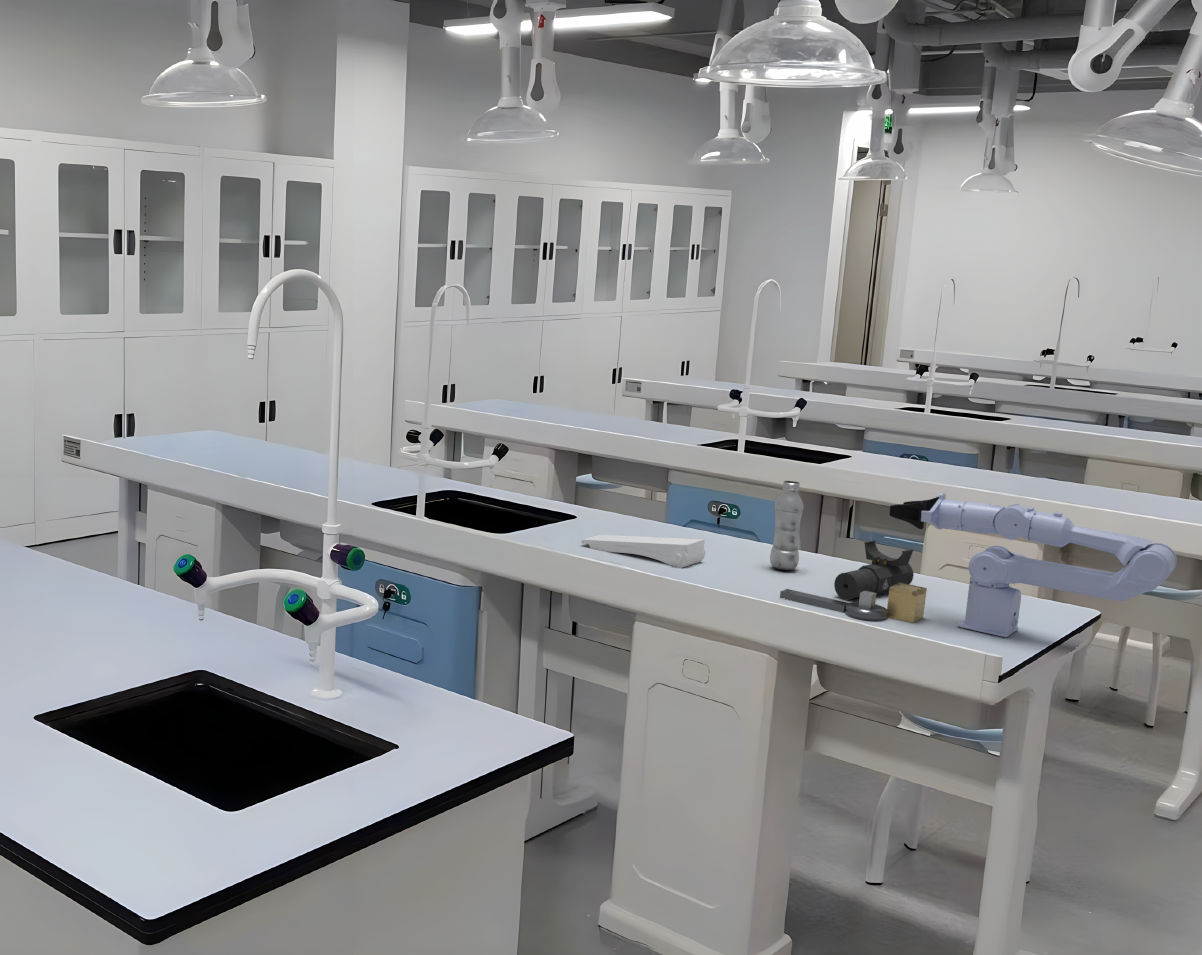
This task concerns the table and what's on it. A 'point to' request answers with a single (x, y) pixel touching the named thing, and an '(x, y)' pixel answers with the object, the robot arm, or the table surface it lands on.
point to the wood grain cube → (906, 602)
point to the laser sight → (875, 574)
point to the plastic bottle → (787, 527)
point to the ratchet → (842, 604)
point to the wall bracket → (652, 548)
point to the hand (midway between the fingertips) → (897, 508)
